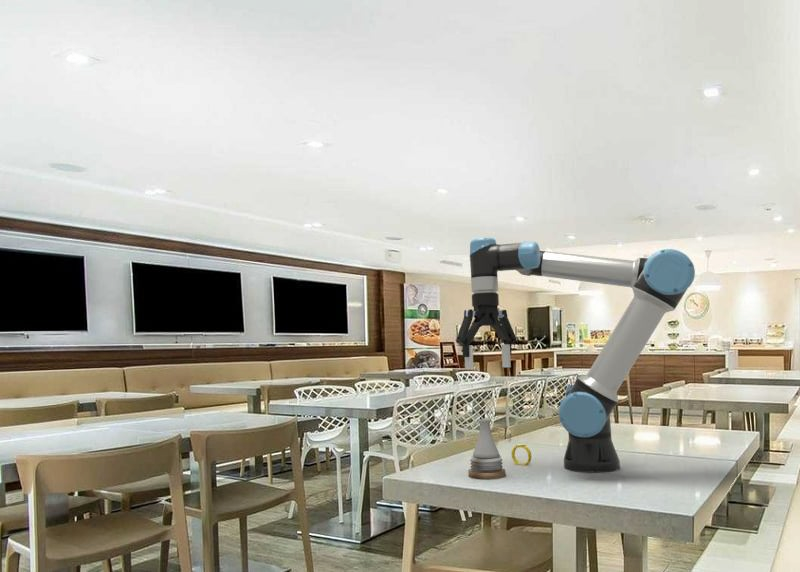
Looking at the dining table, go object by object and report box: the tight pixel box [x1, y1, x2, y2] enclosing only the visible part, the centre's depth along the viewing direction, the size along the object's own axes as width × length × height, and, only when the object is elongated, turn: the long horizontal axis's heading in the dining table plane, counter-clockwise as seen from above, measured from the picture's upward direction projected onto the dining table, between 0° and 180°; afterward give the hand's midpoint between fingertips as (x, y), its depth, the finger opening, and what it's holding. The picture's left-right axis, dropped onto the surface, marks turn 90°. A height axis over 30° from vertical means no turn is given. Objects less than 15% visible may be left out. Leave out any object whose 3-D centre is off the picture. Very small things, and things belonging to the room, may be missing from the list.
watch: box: [511, 443, 532, 466], centre depth 191 cm, size 6×3×6 cm, turn 50°
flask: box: [472, 418, 501, 458], centre depth 176 cm, size 7×7×10 cm
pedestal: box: [467, 455, 507, 480], centre depth 175 cm, size 10×10×5 cm
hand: (488, 368), depth 181 cm, fingers open, 13 cm apart
